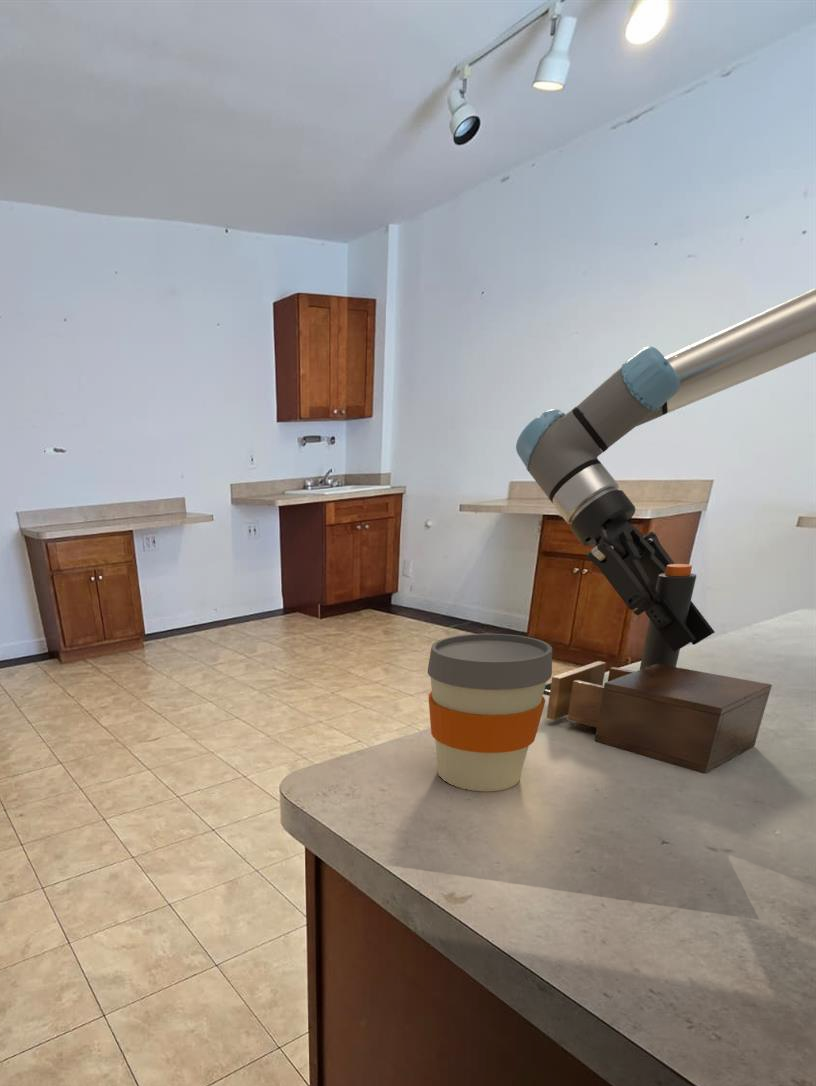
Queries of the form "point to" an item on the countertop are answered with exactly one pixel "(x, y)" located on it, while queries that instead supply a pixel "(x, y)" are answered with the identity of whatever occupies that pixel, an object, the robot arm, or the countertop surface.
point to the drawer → (579, 693)
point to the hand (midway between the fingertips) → (694, 641)
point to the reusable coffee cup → (486, 706)
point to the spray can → (678, 593)
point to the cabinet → (682, 715)
